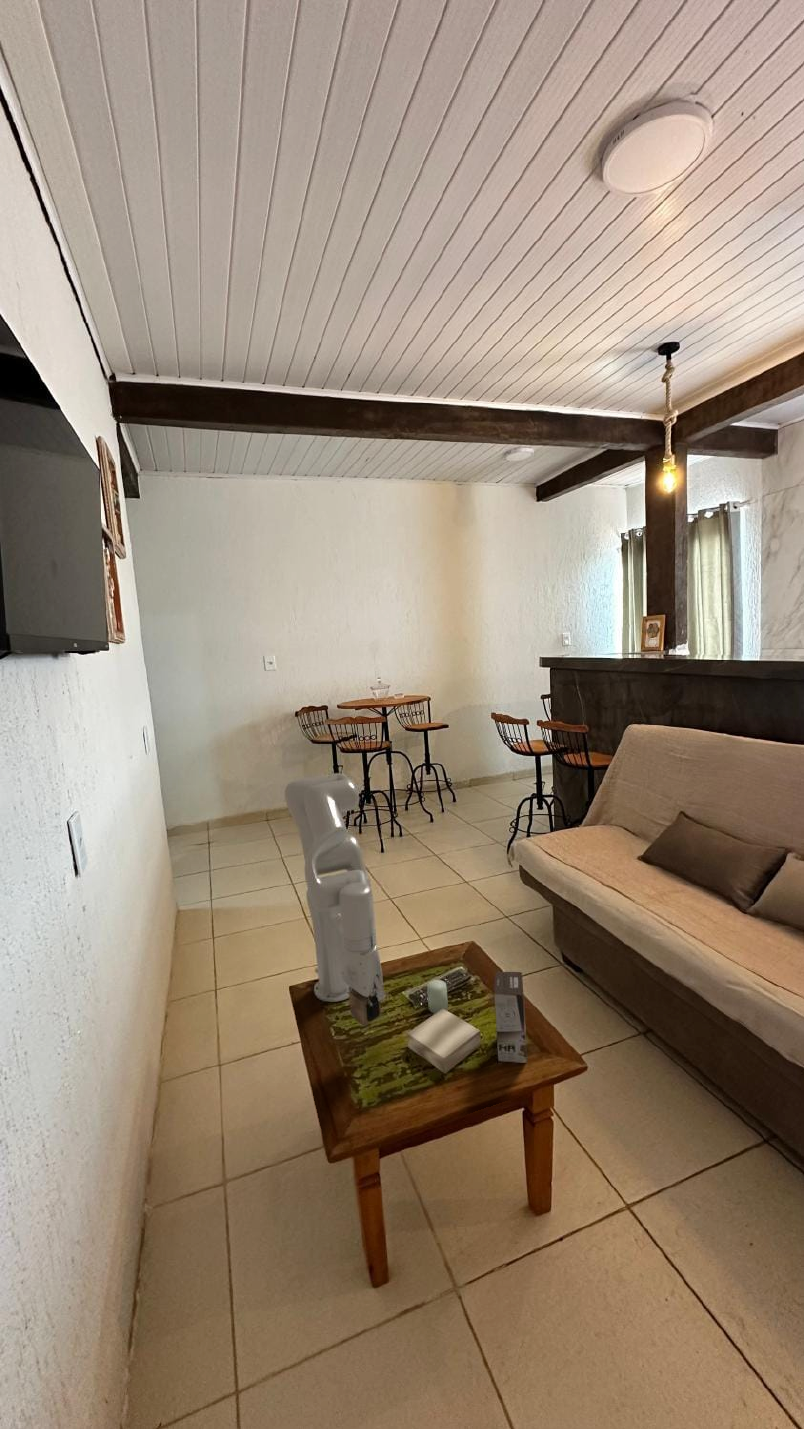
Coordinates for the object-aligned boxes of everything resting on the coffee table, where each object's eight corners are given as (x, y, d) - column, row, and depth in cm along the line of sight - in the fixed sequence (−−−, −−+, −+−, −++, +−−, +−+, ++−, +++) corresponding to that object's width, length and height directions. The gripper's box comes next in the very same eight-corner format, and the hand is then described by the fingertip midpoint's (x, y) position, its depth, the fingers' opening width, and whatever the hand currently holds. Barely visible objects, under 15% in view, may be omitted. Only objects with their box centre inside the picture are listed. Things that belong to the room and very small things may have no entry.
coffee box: (527, 1063, 122) (523, 995, 120) (497, 1061, 124) (493, 994, 122) (526, 1035, 131) (522, 971, 129) (499, 1033, 133) (494, 970, 131)
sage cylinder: (424, 1007, 144) (422, 986, 144) (438, 998, 148) (436, 977, 147) (438, 1016, 141) (436, 994, 140) (452, 1006, 144) (450, 985, 143)
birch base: (408, 1048, 131) (407, 1033, 130) (444, 1023, 138) (443, 1008, 138) (445, 1075, 122) (444, 1058, 121) (481, 1046, 129) (480, 1030, 129)
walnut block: (351, 1016, 128) (348, 992, 127) (368, 1005, 131) (366, 982, 131) (364, 1026, 124) (362, 1002, 124) (381, 1015, 128) (379, 991, 127)
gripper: (324, 932, 129) (331, 1003, 132) (370, 961, 116) (376, 1039, 119) (350, 919, 134) (356, 988, 137) (396, 946, 121) (402, 1021, 124)
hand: (365, 1011), depth 128 cm, fingers closed on walnut block, 5 cm apart
